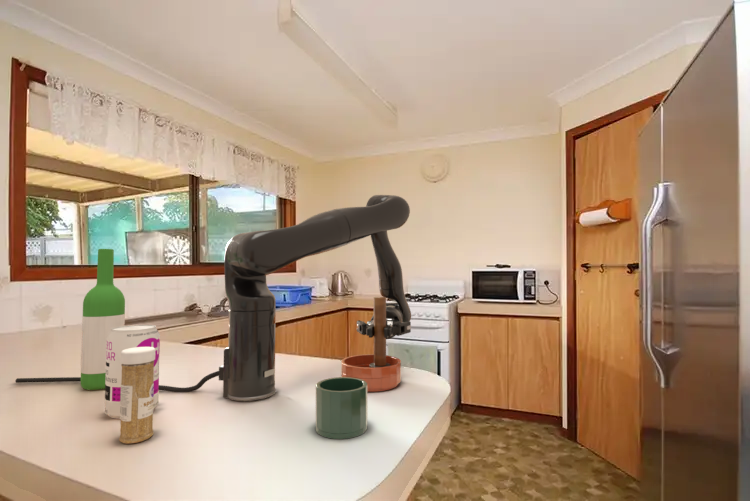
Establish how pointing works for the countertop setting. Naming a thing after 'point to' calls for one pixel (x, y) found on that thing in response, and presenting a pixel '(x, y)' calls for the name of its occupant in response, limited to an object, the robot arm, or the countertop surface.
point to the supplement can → (115, 345)
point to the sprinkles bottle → (137, 394)
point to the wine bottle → (100, 322)
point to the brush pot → (341, 407)
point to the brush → (379, 333)
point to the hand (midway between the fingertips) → (378, 333)
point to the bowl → (372, 371)
